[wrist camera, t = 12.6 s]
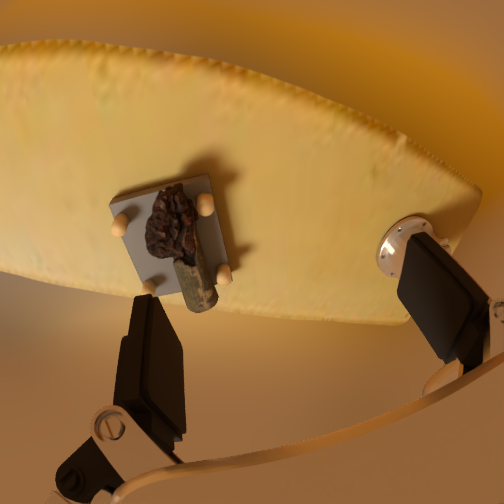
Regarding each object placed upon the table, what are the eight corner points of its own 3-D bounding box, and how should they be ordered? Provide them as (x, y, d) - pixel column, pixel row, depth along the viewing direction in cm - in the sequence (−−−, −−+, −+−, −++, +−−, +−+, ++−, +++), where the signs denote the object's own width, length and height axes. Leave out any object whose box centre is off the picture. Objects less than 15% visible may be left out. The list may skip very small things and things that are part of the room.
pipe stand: (208, 173, 36) (209, 186, 32) (231, 272, 45) (234, 292, 42) (112, 198, 35) (103, 214, 32) (150, 289, 45) (147, 309, 41)
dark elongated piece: (217, 288, 44) (220, 315, 40) (174, 296, 44) (173, 323, 39) (190, 176, 34) (189, 195, 29) (137, 188, 33) (127, 209, 29)
